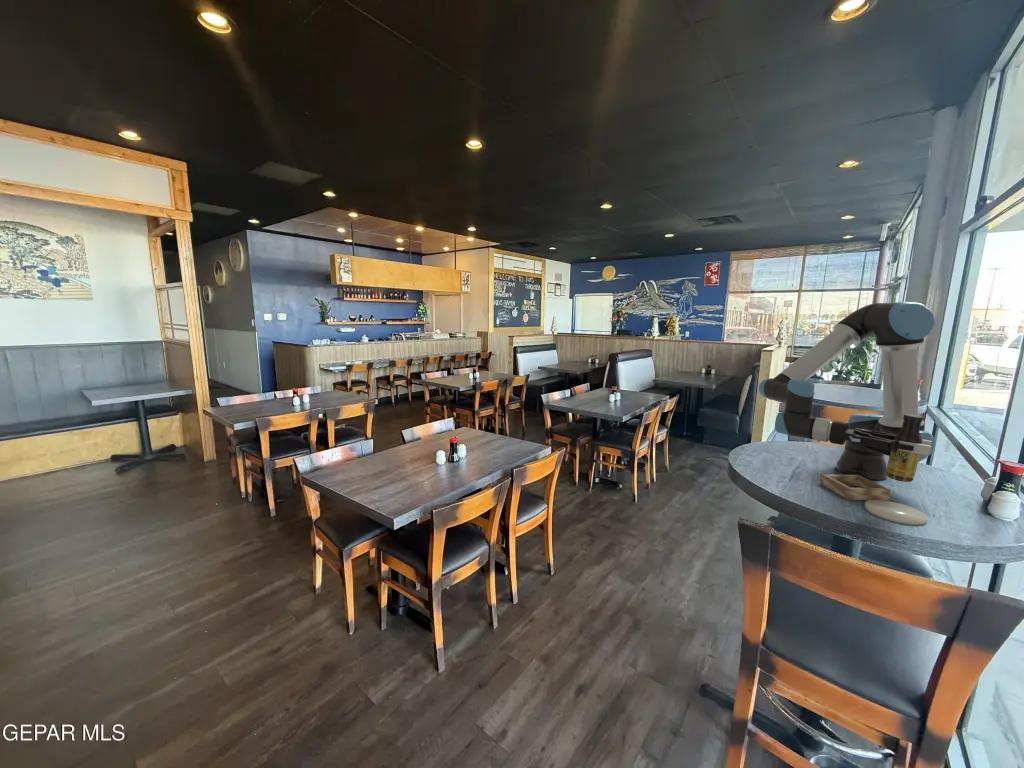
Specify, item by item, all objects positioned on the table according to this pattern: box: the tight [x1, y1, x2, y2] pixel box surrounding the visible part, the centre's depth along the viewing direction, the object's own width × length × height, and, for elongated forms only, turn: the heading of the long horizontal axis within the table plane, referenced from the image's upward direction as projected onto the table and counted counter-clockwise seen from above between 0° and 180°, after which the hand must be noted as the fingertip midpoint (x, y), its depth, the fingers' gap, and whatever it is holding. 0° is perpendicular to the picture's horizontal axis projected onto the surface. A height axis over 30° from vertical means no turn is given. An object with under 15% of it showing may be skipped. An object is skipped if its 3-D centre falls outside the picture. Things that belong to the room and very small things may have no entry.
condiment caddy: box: [819, 473, 891, 501], centre depth 141 cm, size 13×13×4 cm
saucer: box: [864, 500, 928, 526], centre depth 125 cm, size 14×14×1 cm
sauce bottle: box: [886, 414, 924, 483], centre depth 122 cm, size 6×6×20 cm
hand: (930, 448), depth 118 cm, fingers closed on sauce bottle, 6 cm apart
